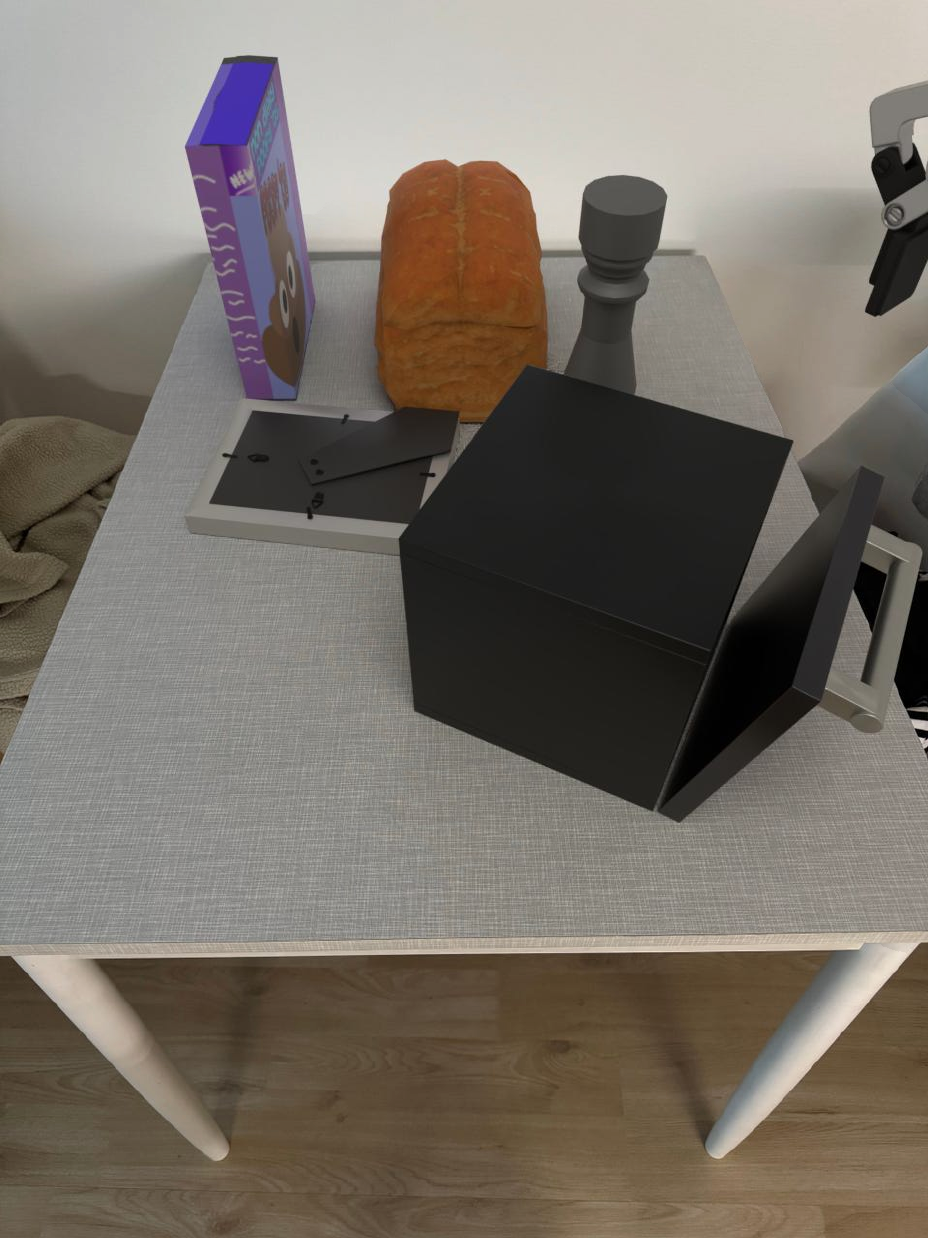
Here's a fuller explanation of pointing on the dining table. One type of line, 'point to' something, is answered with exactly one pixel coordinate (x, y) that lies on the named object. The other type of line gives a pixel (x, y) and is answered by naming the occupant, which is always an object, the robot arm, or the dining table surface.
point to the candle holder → (614, 275)
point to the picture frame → (323, 474)
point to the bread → (459, 288)
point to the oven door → (799, 647)
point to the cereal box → (254, 223)
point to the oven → (583, 575)
